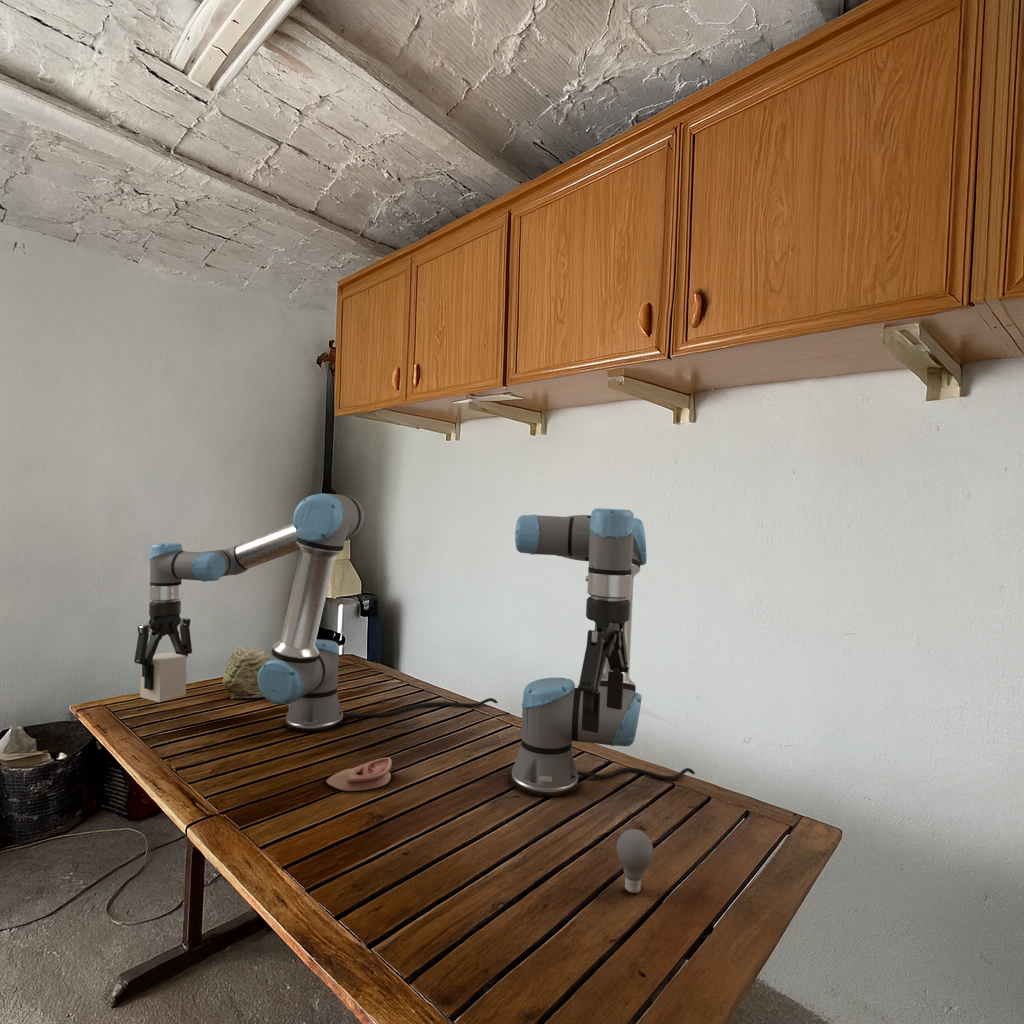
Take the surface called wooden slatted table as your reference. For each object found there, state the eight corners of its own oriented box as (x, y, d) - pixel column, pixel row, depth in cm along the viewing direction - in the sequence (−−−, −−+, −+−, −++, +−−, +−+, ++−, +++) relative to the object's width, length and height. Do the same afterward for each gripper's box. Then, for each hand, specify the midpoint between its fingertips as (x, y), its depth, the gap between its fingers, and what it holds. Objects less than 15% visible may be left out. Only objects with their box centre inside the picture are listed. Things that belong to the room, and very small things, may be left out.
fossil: (218, 695, 195) (220, 647, 195) (278, 685, 208) (279, 640, 207) (228, 703, 189) (230, 653, 188) (289, 692, 201) (290, 645, 201)
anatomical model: (320, 769, 137) (344, 749, 149) (319, 787, 138) (343, 766, 149) (377, 777, 135) (397, 756, 146) (376, 795, 135) (397, 773, 146)
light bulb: (610, 879, 108) (613, 822, 108) (644, 879, 109) (647, 822, 109) (619, 902, 102) (622, 840, 102) (655, 901, 103) (658, 840, 103)
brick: (166, 690, 176) (167, 651, 176) (185, 694, 172) (186, 655, 172) (140, 697, 169) (141, 657, 169) (159, 702, 165) (160, 661, 165)
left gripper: (190, 594, 181) (188, 674, 181) (118, 603, 163) (116, 692, 163) (208, 597, 178) (206, 678, 178) (136, 606, 159) (134, 697, 160)
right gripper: (609, 587, 123) (604, 696, 123) (561, 604, 100) (555, 737, 101) (647, 591, 119) (642, 703, 120) (607, 609, 97) (601, 747, 97)
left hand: (163, 684), depth 171 cm, fingers closed on brick, 8 cm apart
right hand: (602, 719), depth 110 cm, fingers open, 13 cm apart
